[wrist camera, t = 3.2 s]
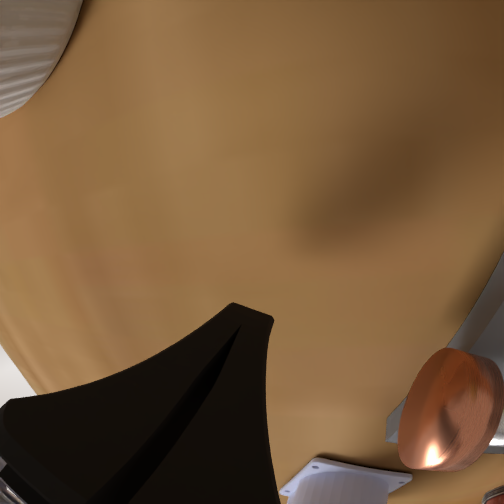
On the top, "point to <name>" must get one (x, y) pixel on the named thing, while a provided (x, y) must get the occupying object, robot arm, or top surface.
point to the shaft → (452, 412)
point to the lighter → (494, 496)
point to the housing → (475, 339)
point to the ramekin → (31, 45)
